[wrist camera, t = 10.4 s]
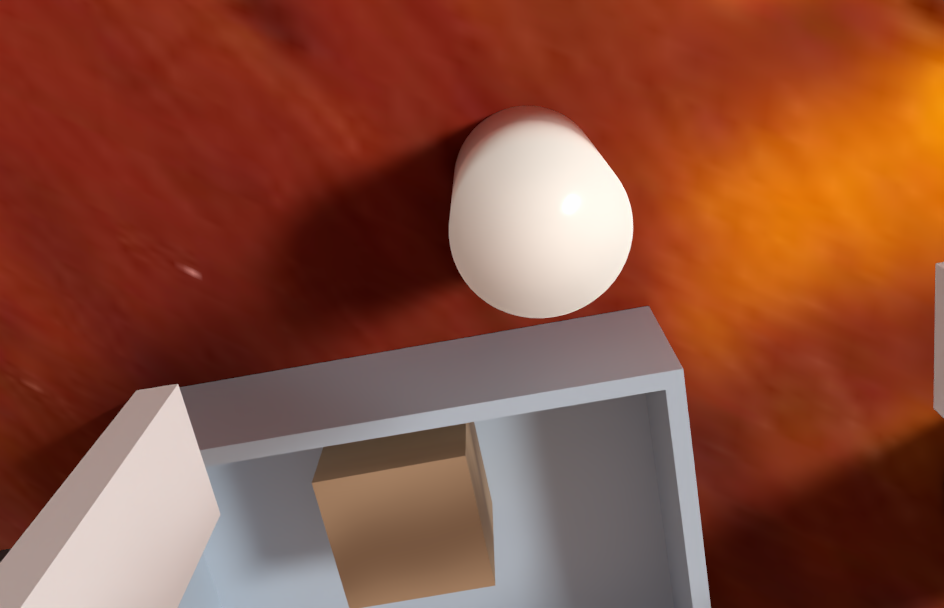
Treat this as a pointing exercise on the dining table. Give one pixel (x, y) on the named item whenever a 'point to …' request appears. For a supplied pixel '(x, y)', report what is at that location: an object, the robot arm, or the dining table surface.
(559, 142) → the white cylinder
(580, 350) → the tote
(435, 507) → the walnut cube
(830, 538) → the dining table surface
